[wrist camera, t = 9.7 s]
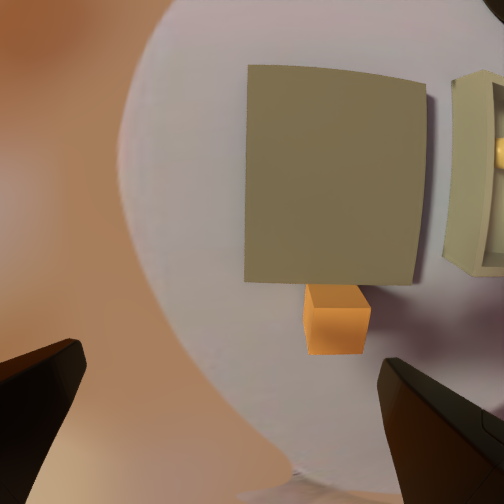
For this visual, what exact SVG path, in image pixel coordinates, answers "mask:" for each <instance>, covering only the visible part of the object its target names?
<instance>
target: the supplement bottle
mask: <svg viewBox="0 0 504 504" xmlns="http://www.w3.org/2000/svg"><path fill="white" fill-rule="evenodd" d="M484 2H485V3H486V4H487V6H488V7H489V8H490V9H491V10H492V12H493V13H494V14H495V15H496V16H497V17H498V18H500V19H501V20H502V21H503V22H504V0H484Z"/></svg>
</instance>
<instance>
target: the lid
mask: <svg viewBox="0 0 504 504" xmlns="http://www.w3.org/2000/svg"><path fill="white" fill-rule="evenodd" d="M426 142H427V103H426V84H423V83H419V82H414V81H409V80H404V79H399V78H393V77H388V76H382V75H376V74H369V73H362V72H355V71H347V70H338V69H328V68H317V67H303V66H283V65H248V85H247V135H246V195H245V270H244V282H259V283H289V284H306V290H305V302H304V313H303V324H304V329H305V335H306V341H307V347H308V353H309V355H335V354H363V349H364V344H365V339H366V334H367V329H368V324H369V318H370V313H371V307H370V305H369V304H368V302H367V300H366V299H365V297H364V296H363V294H362V292H361V291H360V289H359V288H358V286H357V285H409V286H411V285H412V279H413V274H414V268H415V262H416V255H417V249H418V241H419V234H420V226H421V217H422V207H423V197H424V184H425V168H426Z"/></svg>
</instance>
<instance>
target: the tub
mask: <svg viewBox="0 0 504 504" xmlns="http://www.w3.org/2000/svg"><path fill="white" fill-rule="evenodd" d="M451 84H452V105H453V154H452V175H451V189H450V201H449V211H448V220H447V228H446V235H445V242H444V249H443V255H442V257H444V258H445V259H447V260H448V261H450V262H451V263H453V264H454V265H456V266H457V267H459V268H460V269H462V270H463V271H465V272H466V273H468V274H469V275H470V276H472V277H495V276H504V77H502V76H499V75H497V74H494V73H492V72H489V71H486V70H481V71H478V72H475V73H472V74H469V75H466V76H464V77H461V78H458V79H455V80H452V81H451Z"/></svg>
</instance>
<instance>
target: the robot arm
mask: <svg viewBox="0 0 504 504" xmlns="http://www.w3.org/2000/svg"><path fill="white" fill-rule="evenodd" d="M86 367H87V363H86V358H85V355H84V351H83V347H82V344H81V342H80V341H79V340H76V339H70V338H69V339H65V340H62V341H59V342H57V343H54V344H51V345H48V346H46V347H43V348H40V349H37V350H35V351H32V352H29V353H26V354H24V355H21V356H18V357H15V358H13V359H10V360H7V361H4V362H1V363H0V504H25V503H26V500H27V498H28V496H29V493H30V491H31V489H32V486H33V484H34V482H35V480H36V477H37V475H38V473H39V471H40V468H41V466H42V464H43V462H44V460H45V458H46V456H47V453H48V451H49V449H50V447H51V445H52V443H53V441H54V439H55V437H56V435H57V433H58V431H59V429H60V427H61V425H62V423H63V421H64V419H65V417H66V415H67V413H68V411H69V409H70V407H71V405H72V403H73V400H74V398H75V395H76V393H77V390H78V388H79V385H80V382H81V380H82V377H83V375H84V373H85V370H86ZM377 390H378V395H379V401H380V407H381V412H382V419H383V425H384V430H385V434H386V438H387V441H388V445H389V448H390V452H391V455H392V459H393V463H394V466H395V470H396V474H397V477H398V481H399V485H400V489H401V493H402V497H403V501H404V504H504V421H503V420H501V419H499V418H497V417H496V416H494V415H492V414H490V413H489V412H487V411H486V410H484V409H483V410H482V409H481V408H480V407H479V406H477V405H475V404H474V403H472V402H470V401H469V400H467V399H465V398H464V397H462V396H460V395H459V394H457V393H455V392H454V391H452V390H450V389H449V388H447V387H445V386H444V385H442V384H440V383H439V382H437V381H436V380H434V379H432V378H431V377H429V376H427V375H426V374H424V373H422V372H421V371H419V370H417V369H416V368H414V367H413V366H411V365H409V364H408V363H406V362H404V361H403V360H401V359H399V358H397V357H395V358H385V359H384V360H383V362H382V366H381V370H380V374H379V377H378V381H377Z"/></svg>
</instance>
